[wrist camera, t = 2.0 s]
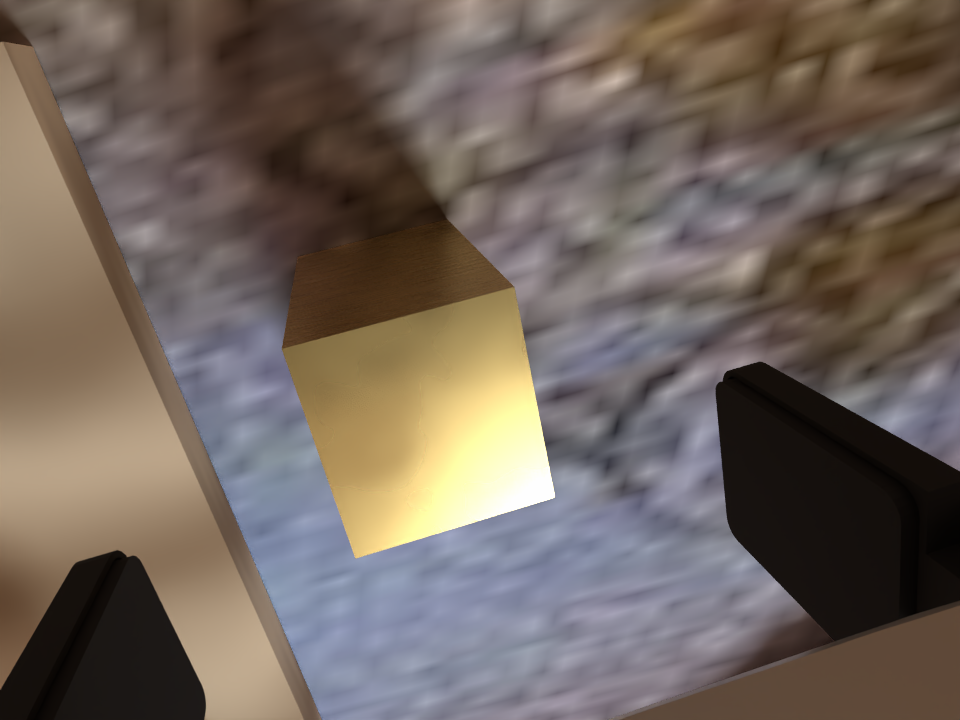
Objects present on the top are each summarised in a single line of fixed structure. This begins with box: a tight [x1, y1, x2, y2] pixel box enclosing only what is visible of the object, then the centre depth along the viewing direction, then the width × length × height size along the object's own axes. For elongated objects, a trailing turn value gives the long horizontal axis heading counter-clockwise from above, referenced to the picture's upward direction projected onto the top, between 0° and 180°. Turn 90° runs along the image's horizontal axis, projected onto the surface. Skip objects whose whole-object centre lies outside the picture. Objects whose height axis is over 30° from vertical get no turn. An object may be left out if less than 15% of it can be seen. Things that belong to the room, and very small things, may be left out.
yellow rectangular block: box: [282, 219, 555, 558], centre depth 15 cm, size 4×4×7 cm
